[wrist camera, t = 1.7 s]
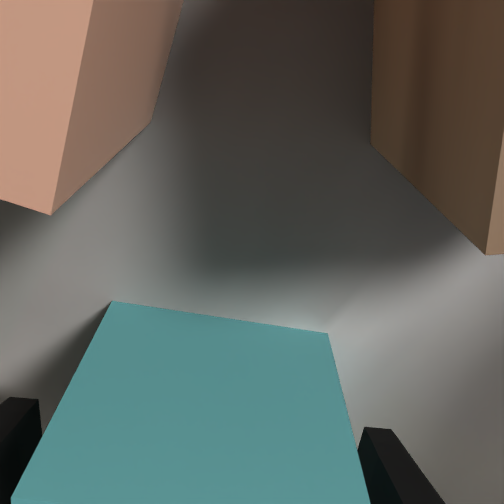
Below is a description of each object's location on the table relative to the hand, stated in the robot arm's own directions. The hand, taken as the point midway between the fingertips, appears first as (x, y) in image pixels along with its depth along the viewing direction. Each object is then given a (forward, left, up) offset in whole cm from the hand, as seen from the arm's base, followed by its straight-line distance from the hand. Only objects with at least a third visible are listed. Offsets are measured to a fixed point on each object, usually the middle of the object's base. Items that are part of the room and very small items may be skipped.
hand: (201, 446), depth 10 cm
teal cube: (0, 0, -2) cm, 2 cm away
